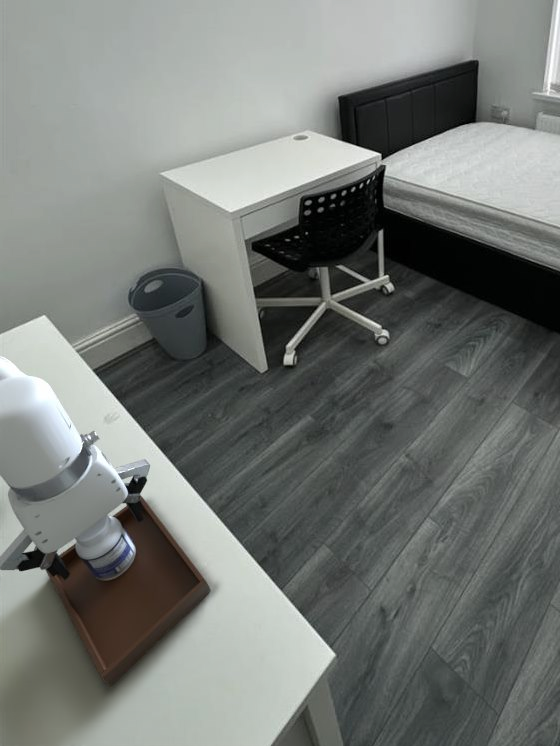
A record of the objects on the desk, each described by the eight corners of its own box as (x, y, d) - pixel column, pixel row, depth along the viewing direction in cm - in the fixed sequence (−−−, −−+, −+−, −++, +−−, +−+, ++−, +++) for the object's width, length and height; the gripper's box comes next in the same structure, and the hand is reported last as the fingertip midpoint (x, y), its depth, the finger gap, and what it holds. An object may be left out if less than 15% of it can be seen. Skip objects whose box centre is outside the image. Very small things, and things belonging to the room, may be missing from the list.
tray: (51, 576, 68) (43, 566, 66) (146, 504, 76) (141, 495, 75) (110, 686, 58) (102, 678, 56) (211, 590, 66) (206, 581, 65)
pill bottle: (95, 552, 70) (69, 516, 64) (136, 534, 72) (114, 498, 67) (92, 589, 66) (64, 554, 60) (136, 570, 68) (113, 534, 62)
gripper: (114, 404, 64) (152, 479, 73) (-53, 502, 53) (17, 576, 62) (140, 435, 60) (177, 509, 69) (-34, 548, 49) (38, 619, 58)
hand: (102, 541), depth 66 cm, fingers open, 9 cm apart
